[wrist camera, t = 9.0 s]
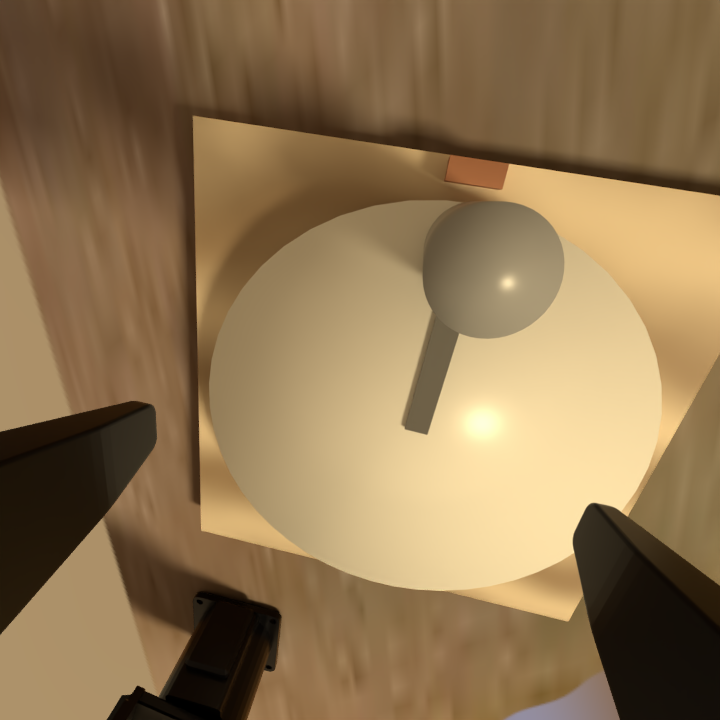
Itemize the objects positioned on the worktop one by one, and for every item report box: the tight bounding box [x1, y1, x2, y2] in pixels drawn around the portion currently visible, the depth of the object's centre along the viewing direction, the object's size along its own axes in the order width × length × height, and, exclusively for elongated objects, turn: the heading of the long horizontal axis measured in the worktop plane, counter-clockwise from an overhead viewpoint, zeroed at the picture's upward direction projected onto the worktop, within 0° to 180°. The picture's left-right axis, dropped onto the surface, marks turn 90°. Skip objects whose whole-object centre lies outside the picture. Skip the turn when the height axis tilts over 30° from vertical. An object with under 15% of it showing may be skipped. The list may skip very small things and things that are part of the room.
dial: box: [209, 200, 662, 591], centre depth 15 cm, size 19×19×6 cm
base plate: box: [193, 116, 720, 621], centre depth 19 cm, size 22×22×2 cm
